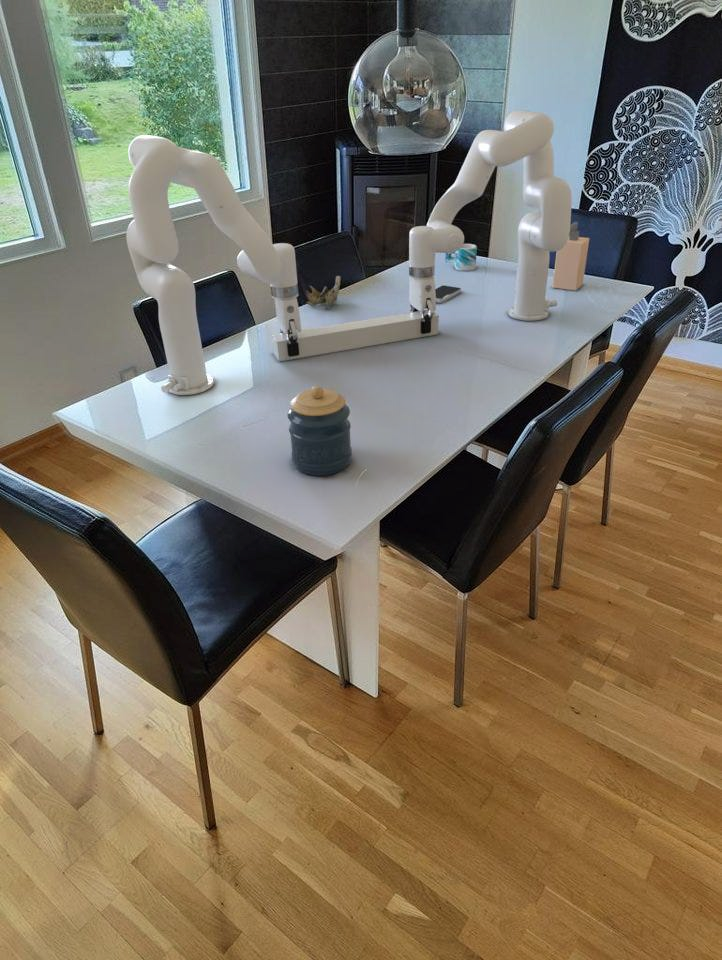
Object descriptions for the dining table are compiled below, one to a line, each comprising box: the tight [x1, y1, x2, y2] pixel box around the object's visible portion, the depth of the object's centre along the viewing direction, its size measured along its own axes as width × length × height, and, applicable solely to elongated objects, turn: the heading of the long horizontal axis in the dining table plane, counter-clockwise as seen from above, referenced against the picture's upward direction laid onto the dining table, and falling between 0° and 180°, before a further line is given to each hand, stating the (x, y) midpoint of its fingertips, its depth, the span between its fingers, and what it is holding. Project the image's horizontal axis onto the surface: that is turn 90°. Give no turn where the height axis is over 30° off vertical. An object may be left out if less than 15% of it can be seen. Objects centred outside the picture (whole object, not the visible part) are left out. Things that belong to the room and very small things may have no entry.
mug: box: [445, 243, 478, 272], centre depth 265 cm, size 8×12×8 cm
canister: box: [287, 385, 353, 476], centre depth 141 cm, size 13×13×18 cm
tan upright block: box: [552, 221, 590, 292], centre depth 235 cm, size 13×9×22 cm
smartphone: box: [435, 285, 462, 304], centre depth 237 cm, size 8×1×15 cm
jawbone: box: [305, 275, 341, 310], centre depth 232 cm, size 9×15×10 cm
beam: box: [271, 309, 440, 362], centre depth 201 cm, size 51×6×6 cm, turn 110°
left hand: (290, 350), depth 196 cm, fingers closed on beam, 6 cm apart
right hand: (420, 328), depth 208 cm, fingers closed on beam, 6 cm apart
